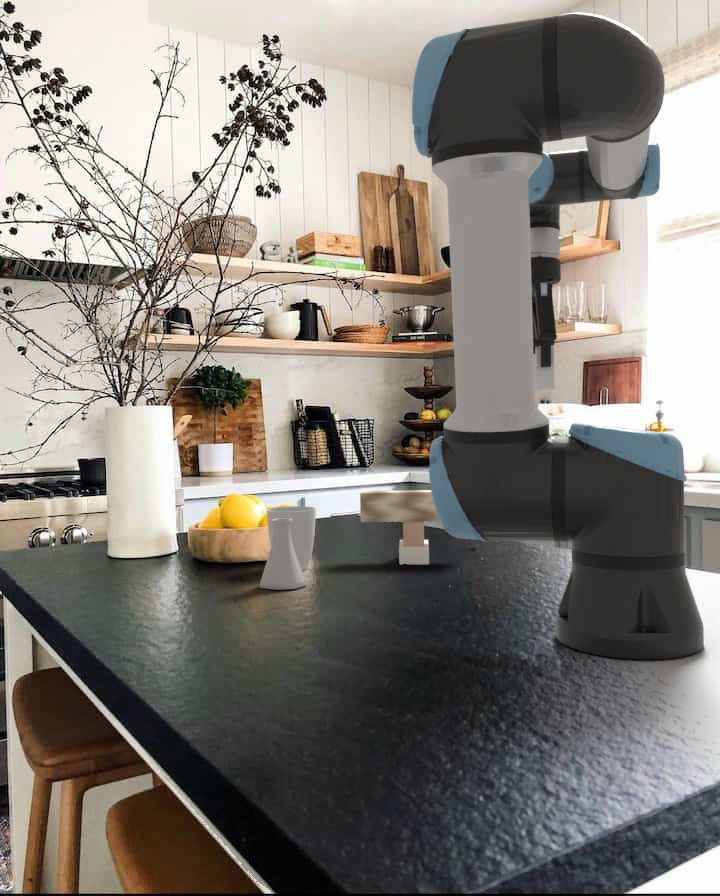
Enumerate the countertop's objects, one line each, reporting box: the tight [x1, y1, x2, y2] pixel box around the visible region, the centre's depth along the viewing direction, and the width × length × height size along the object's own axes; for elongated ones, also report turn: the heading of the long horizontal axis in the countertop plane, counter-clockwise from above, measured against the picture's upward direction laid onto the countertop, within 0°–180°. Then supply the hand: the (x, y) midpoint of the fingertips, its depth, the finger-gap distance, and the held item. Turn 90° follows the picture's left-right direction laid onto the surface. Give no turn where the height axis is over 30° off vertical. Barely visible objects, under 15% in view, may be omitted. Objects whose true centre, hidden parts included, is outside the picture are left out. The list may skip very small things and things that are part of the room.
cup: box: [266, 506, 317, 572], centre depth 136 cm, size 8×8×10 cm
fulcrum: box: [398, 521, 430, 566], centre depth 142 cm, size 8×5×7 cm, turn 176°
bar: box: [359, 489, 440, 523], centre depth 142 cm, size 18×4×5 cm, turn 86°
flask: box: [259, 518, 307, 591], centre depth 122 cm, size 7×7×10 cm
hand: (538, 391), depth 133 cm, fingers open, 13 cm apart
